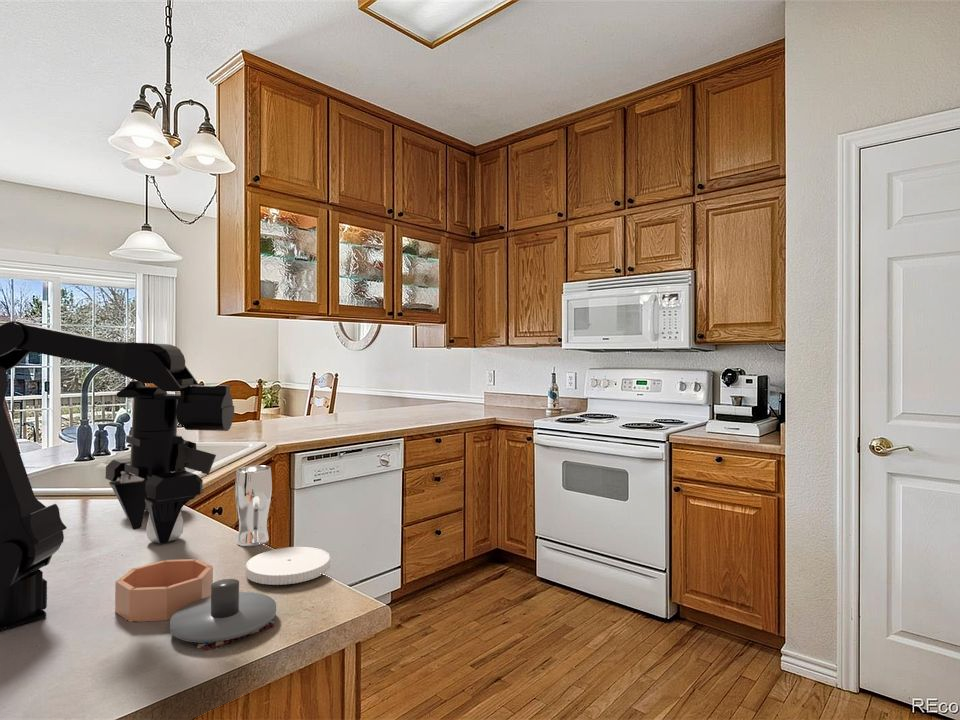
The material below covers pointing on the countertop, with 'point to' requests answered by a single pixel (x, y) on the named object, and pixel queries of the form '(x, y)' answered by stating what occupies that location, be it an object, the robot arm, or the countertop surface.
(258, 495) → the beer glass
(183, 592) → the bowl
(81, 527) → the countertop surface
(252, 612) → the cover
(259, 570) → the plastic lid
